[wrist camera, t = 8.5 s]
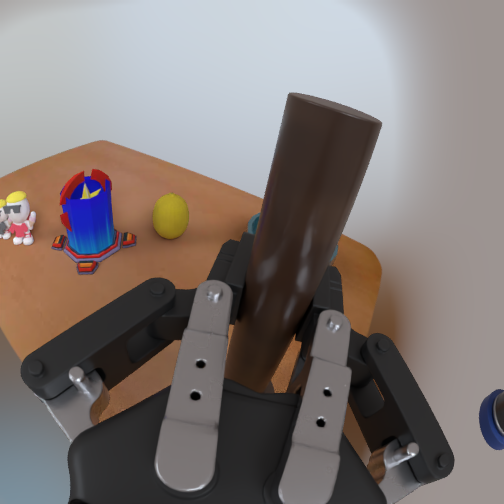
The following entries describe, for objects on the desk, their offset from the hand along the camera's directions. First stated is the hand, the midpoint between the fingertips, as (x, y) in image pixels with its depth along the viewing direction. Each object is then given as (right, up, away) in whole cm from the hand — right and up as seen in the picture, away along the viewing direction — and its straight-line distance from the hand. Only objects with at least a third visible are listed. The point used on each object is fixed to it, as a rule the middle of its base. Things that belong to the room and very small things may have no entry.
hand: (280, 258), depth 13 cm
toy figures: (-42, +3, +23) cm, 48 cm away
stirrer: (-2, -9, +4) cm, 10 cm away
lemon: (-14, +2, +30) cm, 34 cm away
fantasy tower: (-26, +2, +26) cm, 37 cm away
